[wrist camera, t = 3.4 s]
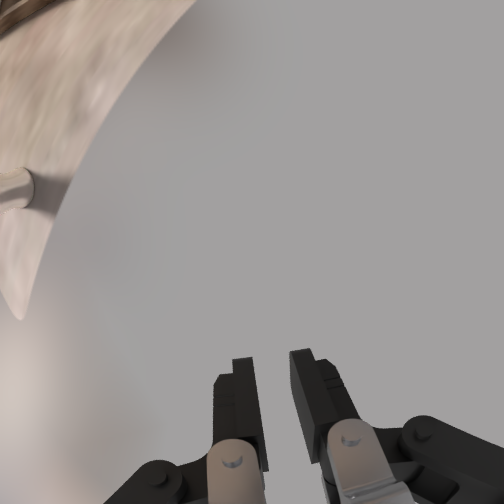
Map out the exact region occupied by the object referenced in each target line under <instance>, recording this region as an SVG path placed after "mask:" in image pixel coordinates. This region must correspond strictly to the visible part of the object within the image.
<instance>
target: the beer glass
mask: <svg viewBox="0 0 504 504" xmlns="http://www.w3.org/2000/svg"><path fill="white" fill-rule="evenodd" d="M33 194H34V182H33V178H32V176H31V174H30V173H29V171H28V170H26V169H24V168H16V169H14V170H12V171H10V172H8V173H0V216H1V215H3V214H4V213H5V212H7V211H9V210H11V209H19V208H24V207H26V206H27V205H28V204H29V203H30V202H31V200H32V198H33Z"/></svg>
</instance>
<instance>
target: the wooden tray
mask: <svg viewBox="0 0 504 504" xmlns="http://www.w3.org/2000/svg"><path fill="white" fill-rule="evenodd" d="M53 1H55V0H1V4H0V34H2V33H3V32H4V31H6V30H7V29H9V28H10V27H12V26H13V25H15V24H16V23H18V22H19V21H21V20H22V19H24V18H26V17H27V16H29V15H30V14H32V13H34V12H35V11H37V10H39V9H41V8H42V7H44V6H46V5H48V4H50V3H51V2H53Z"/></svg>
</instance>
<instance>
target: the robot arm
mask: <svg viewBox="0 0 504 504" xmlns="http://www.w3.org/2000/svg"><path fill="white" fill-rule="evenodd" d="M289 355H290V356H289V358H290V380H291V381H290V382H291V389H292V395H293V398H294V402H295V406H296V409H297V413H298V417H299V420H300V424H301V428H302V431H303V435H304V439H305V442H306V446H307V449H308V453H309V457H310V460H311V464H314V463H318V462H320V466H321V469H322V484H323V488H324V492H325V496H326V500H327V504H415V502H417V503H419V504H504V448H502V447H500V446H497V445H495V444H492V443H490V442H487V441H485V440H482V439H480V438H478V437H475V436H473V435H471V434H468V433H466V432H464V431H462V430H460V429H457V428H455V427H453V426H451V425H448V424H446V423H444V422H442V421H440V420H438V419H435V418H433V417H431V416H424V415H423V416H416V417H413V418H411V419H410V420H408V421H407V422H406V423H405V425H404V426H403V428H388V429H387V428H386V429H382V428H375V427H372V426H371V425H370V424H368V423H367V422H365V421H363V420H362V419H361V418H360V416H359V415H358V413H357V410H356V409H355V406H354V404H353V402H352V400H351V398H350V396H349V394H348V392H347V389H346V387H344V383H343V381H342V379H341V378H340V375H339V373H338V371H337V369H336V367H335V366H334V365H333V364H332V363H330V362H329V361H328V360H327V359H322V360H317V361H315V359H314V356H313V354H312V352H311V350H310V348H307V349H301V350H295V351H290V354H289ZM232 361H233V362H232V363H233V373H231V374H220V375H219V377H218V378H217V380H216V382H215V383H214V391H213V392H214V394H213V396H214V398H213V406H214V407H213V444H212V447H211V449H210V450H209V452H208V453H207V454H206V455H205V456H203V457H202V458H201V459H199V460H196V461H194V462H191V463H187V464H184V465H180V466H176V465H174V464H173V463H171V462H169V461H165V460H154V461H150V462H147V463H146V464H144V465H142V466H141V467H140V468H139V469H138V470H137V471H136V472H135V473H134V474H133V475H132V476H131V477H130V478H129V479H128V480H127V481H126V482H125V483H124V484H123V485H122V486H121V487H120V488H119V489H118V490H117V491H116V492H115V493H114V494H113V495H112V496H111V497H110V498H109V499H108V500H107V501H106V502H105V503H104V504H266V499H265V494H264V490H265V483H264V476H263V472H267V471H269V469H268V461H267V454H266V447H265V440H264V433H263V427H262V421H261V414H260V407H259V400H258V394H257V387H256V380H255V373H254V366H253V359H252V357H247V358H240V359H233V360H232ZM414 501H415V502H414Z"/></svg>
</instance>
